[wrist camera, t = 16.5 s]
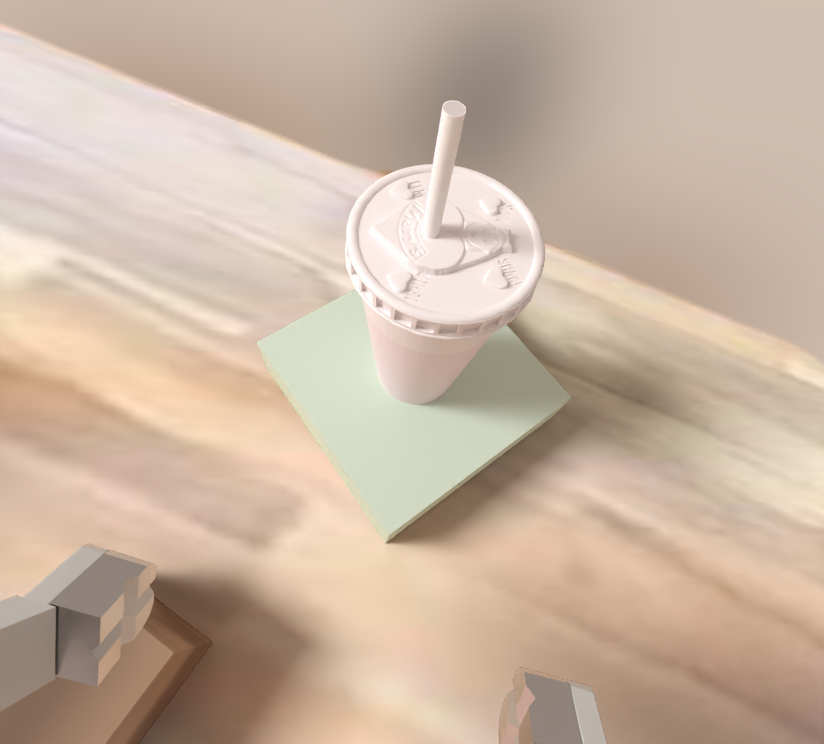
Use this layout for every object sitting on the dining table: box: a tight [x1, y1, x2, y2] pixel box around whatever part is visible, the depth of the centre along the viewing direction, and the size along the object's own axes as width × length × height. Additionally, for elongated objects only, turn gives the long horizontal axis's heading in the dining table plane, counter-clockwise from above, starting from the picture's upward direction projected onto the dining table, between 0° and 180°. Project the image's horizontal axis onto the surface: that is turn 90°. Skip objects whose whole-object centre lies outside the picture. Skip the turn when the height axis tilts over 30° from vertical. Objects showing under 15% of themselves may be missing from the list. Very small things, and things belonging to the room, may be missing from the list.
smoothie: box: [345, 101, 545, 404], centre depth 18 cm, size 6×6×14 cm
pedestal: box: [257, 289, 572, 543], centre depth 26 cm, size 11×11×3 cm
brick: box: [0, 597, 212, 744], centre depth 18 cm, size 5×5×5 cm
